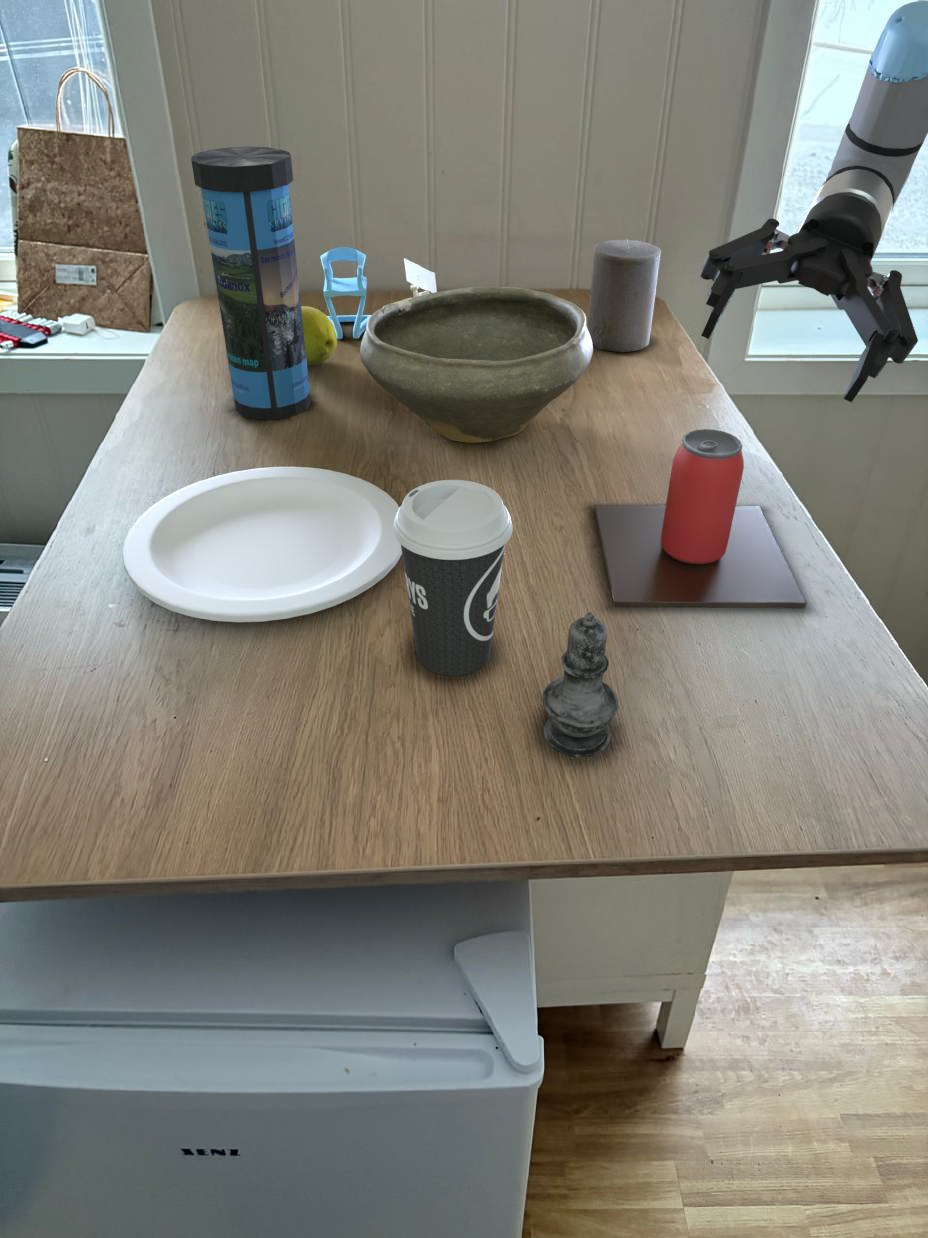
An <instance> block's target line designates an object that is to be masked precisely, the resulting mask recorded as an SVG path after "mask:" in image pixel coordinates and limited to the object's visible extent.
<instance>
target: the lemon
mask: <svg viewBox="0 0 928 1238" xmlns="http://www.w3.org/2000/svg"><path fill="white" fill-rule="evenodd" d="M301 311H302V321H303V331H304V341H305V350H306V360H307V366H314V365H319V364H321V363H324V362H326V361H327V360H329V359H330V357H331V356H332V355H333V354H334V353H335V351H336V349H337V347H338V339H337V337H336V331H335V328H334V325H333V324H332V322H331V321H330V320H329V318H328V317H327V316H328V315H326V314H325V312H322V311H321V310H320V309H318V308H315V307H312V306H309V305H308V306H306V305H305V306H304V305H301Z"/></svg>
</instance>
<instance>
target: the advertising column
mask: <svg viewBox="0 0 928 1238" xmlns="http://www.w3.org/2000/svg"><path fill="white" fill-rule="evenodd" d="M190 162H191V167H192V173H193V180H194V185H195V186H196V187H199V188H200V190H201V196H202V197H201V198H202V203H203V209H204V217H205V222H206V228H207V235H208V241H209V247H210V255H211V260H212V266H213V274H214V280H215V284H216V286H215V287H216V292H217V300H218V305H219V312H220V318H221V325H222V331H223V337H224V344H225V350H226V357H227V363H228V369H229V376H230V377H229V378H230V382H231V389H232V395H233V402H234V408H235V411H236V412H237V413H239V414H240V415H241V416H242V417H245V418H249V419H252V420H261V421H262V420H263V421H272V420H284V419H287V418H288V419H289V418H291V417H295V416H298V415H300V414H301V413H304V412H305V411H307V410H308V408H310V406H311V404H312V400H311V391H310V380H309V373H308V372H309V371H308V365H307V360H306V350H305V341H304V331H303V321H302V311H301V306H302V304H301V294H300V293H301V291H300V284H299V273H298V263H297V254H296V244H295V234H294V224H293V216H292V215H293V214H292V204H291V195H290V184H291V183H292V182H294V174H293V163H292V156H291V153H290V152H289V151H286V150H284V149H282V148H281V149H280V148H274V147H268V146H267V147H265V146H231V147H221V148H214V149H209V150H204V151H200V152H198V153H195V154H193V155H191V159H190Z"/></svg>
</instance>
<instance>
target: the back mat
mask: <svg viewBox="0 0 928 1238" xmlns="http://www.w3.org/2000/svg"><path fill="white" fill-rule="evenodd" d="M665 508H666V504H665V505H663V504H661V505H660V504H659V505H658V504H653V505H652V504H595V505H594V507H593V509H594V516H595V521H596V524H597V529H598V535H599V540H600V545H601V549H602V554H603V559H604V564H605V568H606V574H607V578H608V583H609V589H610V594H611V599H612V604H613V607H632V608H633V607H635V608H636V607H638V608H639V607H640V608H641V607H642V608H643V607H647V608H648V607H649V608H652V607H653V608H654V607H655V608H666V607H667V608H759V609H760V608H765V609H766V608H768V609H770V608H771V609H772V608H773V609H777V608H778V609H779V608H780V609H805V608H806V607H807V601H806V599H805V597H804V595H803V593H802V590H801V589H800V587H799V585H798V583H797V581H796V579H795V577H794V575H793V572H792V571H791V569H790V566H789V565H788V562H787V560H786V558H785V556H784V554H783V552H782V550H781V548H780V546H779V544H778V541H777V539H776V538H775V536H774V533H773V531H772V530H771V527H770V525H769V523H768V521H767V519H766V517H765V515H764V513H763V511H762V509H761V507H760V505H736V507H735V512H734V517H733V521H732V526H731V531H730V536H729V540H728V545H727V549H726V552H725V554H724V555H723V556H722V557H721V558H720V559H719V560H717V561H714V562H712V563H707V564H689V563H684V562H681V561H679V560H676V559H674V558H672V557H671V556H670V555H668V554H667V553H666V552H665V550H664V549H663V548H662V546H661V533H662V527H663V521H664V514H665Z"/></svg>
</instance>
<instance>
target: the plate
mask: <svg viewBox="0 0 928 1238" xmlns="http://www.w3.org/2000/svg"><path fill="white" fill-rule="evenodd" d="M400 507H401V506H399V504H398V503H397V502H396V500H394V499H393V498H392V496H390V495H389V493H387V492H386V491H385V490H382V489H381V488H380V487H378V486H377V485H375V484H373V483H371V482H369V481H366V480H364V479H363V478H360V477H357V476H354V475H352V474H351V475H350V474H348V473H344V472H339V471H335V470H331V469H324V468H316V467H309V466H308V467H306V466H272V467H271V466H270V467H269V466H268V467H257V468H250V469H244V470H238V471H232V472H228V473H224V474H219V475H216V476H212V477H209V478H206V479H202V480H199V481H197V482H194V483H191V484H189V485H187V486H185V487H182V488H181V489H178V490H176V491H174V492H172V493H171V494H169V495H167V496H165V497H163V498H162V499H160V500H159V501H157V502H155V503H154V504H153V505H152V506H150V507H149V508H148V509H147V510H146V511H144V513H142V514H141V515H140V516H138V518H137V519H136V521H135V522H134V523H133V524H132V526H131V527H130V529H129V530H128V532H127V534H126V536H125V540H124V542H123V546H122V547H123V548H122V559H123V560H122V561H123V565H124V570H125V573H126V575H127V577H128V579H129V580H130V582H131V585H133V586H134V587H135V589H136V590H137V591H138V592H139V593H140V594H141V595H142V596H144V597H146V598H147V599H148V600H150V601H151V602H153V603H154V604H156V605H159V606H160V607H162V608H165V609H166V610H169V611H171V612H174V613H176V614H177V613H178V614H181V615H183V616H188V617H191V618H195V619H202V620H207V621H214V622H226V623H227V622H229V623H259V622H261V623H262V622H263V623H264V622H269V621H270V622H271V621H279V620H286V619H292V618H296V617H301V616H305V615H310V614H313V613H317V612H320V611H324V610H327V609H330V608H333V607H335V606H338V605H340V604H342V603H344V602H346V601H349V600H351V599H354V598H355V597H357V596H359V595H360V594H363V593H364V592H366V591H367V590H369V589H370V588H372V587H374V586H375V585H377V583H379V582H380V581H382V579H384V578H385V577H386V576H387V575H388V574H389V573H390V572H391V571H392V570H393V568H394V567H396V565H397V564H398V562H399V560H400V558H401V557H402V550H401V544H400V543H399V542H398V541H397V539H396V538H395V536H394V533H393V524H394V519H395V516H396V514H397V512H398V510H399V508H400Z"/></svg>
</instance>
